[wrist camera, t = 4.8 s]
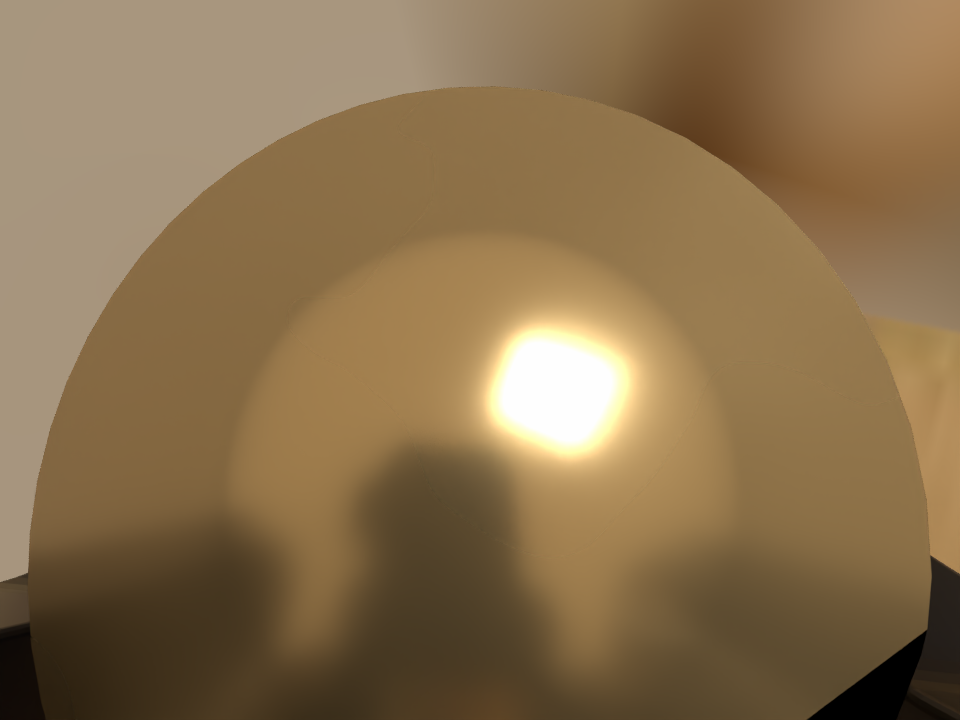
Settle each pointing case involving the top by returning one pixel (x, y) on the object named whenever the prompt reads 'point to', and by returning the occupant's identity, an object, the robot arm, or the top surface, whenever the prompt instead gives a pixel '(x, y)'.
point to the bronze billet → (480, 443)
